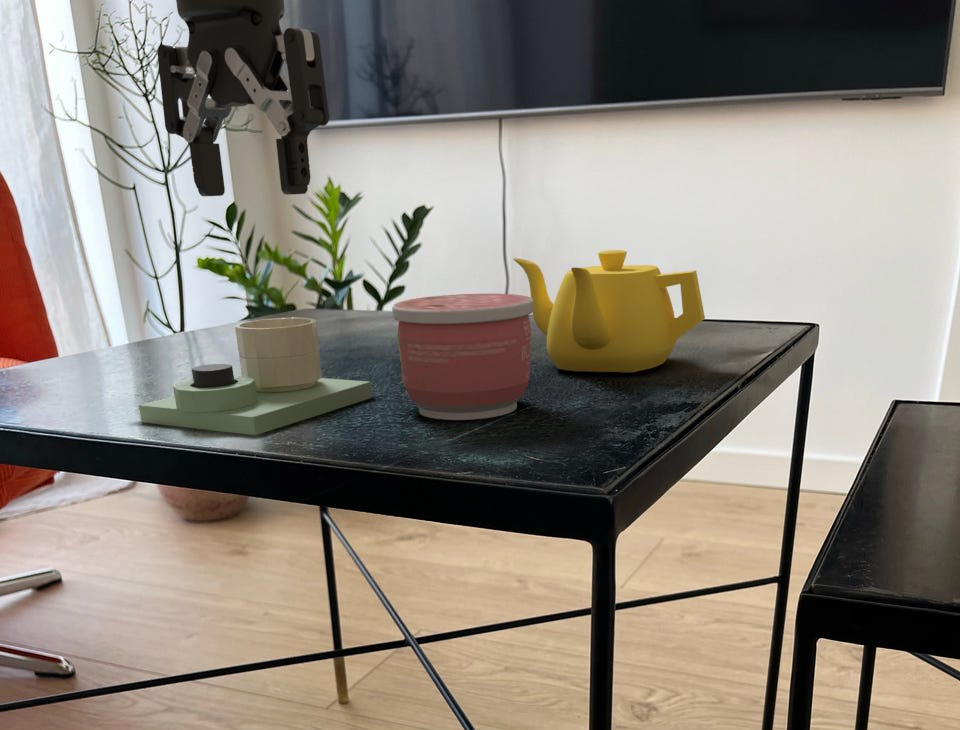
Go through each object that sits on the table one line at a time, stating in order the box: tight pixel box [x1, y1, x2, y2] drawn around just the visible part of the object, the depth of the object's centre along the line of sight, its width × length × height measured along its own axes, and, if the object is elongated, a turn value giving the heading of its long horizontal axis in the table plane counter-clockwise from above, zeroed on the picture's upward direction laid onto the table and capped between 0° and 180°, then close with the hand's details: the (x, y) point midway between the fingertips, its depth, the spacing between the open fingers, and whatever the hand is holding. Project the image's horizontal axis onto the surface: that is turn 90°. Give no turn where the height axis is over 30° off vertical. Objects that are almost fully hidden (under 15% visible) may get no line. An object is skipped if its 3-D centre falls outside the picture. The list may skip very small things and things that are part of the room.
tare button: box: [191, 363, 235, 388], centre depth 77 cm, size 3×3×2 cm
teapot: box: [512, 249, 706, 374], centre depth 91 cm, size 14×13×10 cm
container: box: [391, 293, 534, 421], centre depth 77 cm, size 10×10×8 cm
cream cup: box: [234, 317, 323, 392], centre depth 82 cm, size 6×6×5 cm
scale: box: [138, 375, 373, 436], centre depth 81 cm, size 14×12×3 cm
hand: (252, 195), depth 77 cm, fingers open, 8 cm apart
